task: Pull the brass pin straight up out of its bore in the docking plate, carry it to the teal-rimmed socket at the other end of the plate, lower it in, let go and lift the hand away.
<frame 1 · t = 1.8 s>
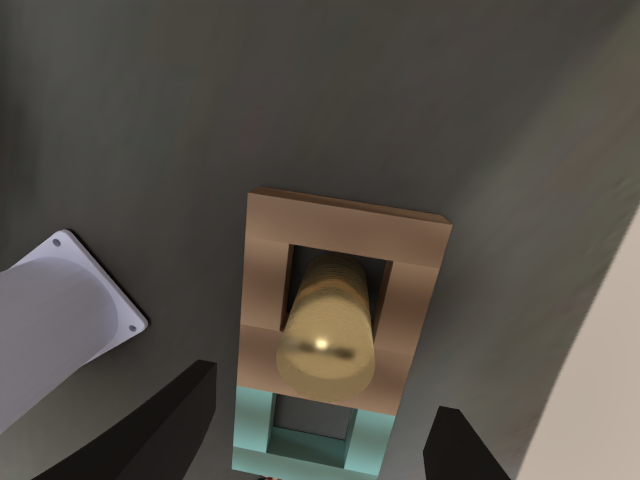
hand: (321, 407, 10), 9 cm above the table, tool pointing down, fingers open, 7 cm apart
docking plate: (323, 349, 20), on the table
brass pin: (334, 281, 18), resting in docking plate
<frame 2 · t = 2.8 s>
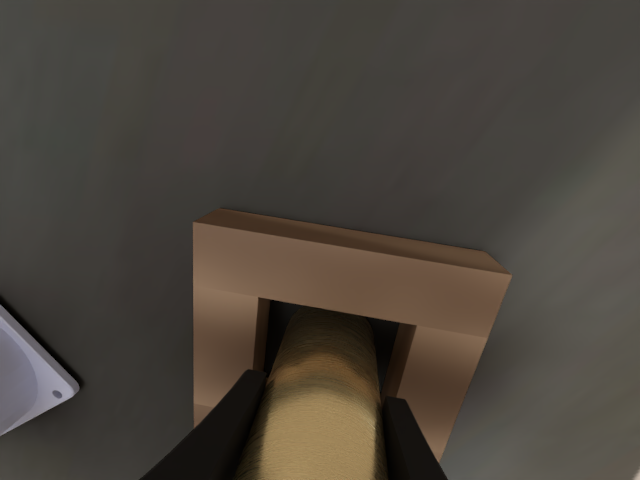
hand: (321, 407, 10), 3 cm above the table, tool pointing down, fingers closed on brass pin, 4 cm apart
docking plate: (314, 424, 15), on the table
brass pin: (329, 339, 13), resting in docking plate, touching gripper
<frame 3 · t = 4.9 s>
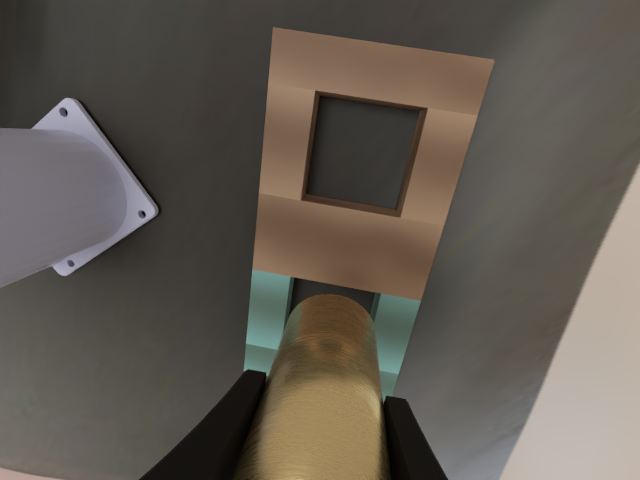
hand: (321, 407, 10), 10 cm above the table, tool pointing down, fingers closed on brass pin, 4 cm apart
docking plate: (343, 237, 19), on the table
brass pin: (330, 333, 13), point 7 cm above the table, touching gripper
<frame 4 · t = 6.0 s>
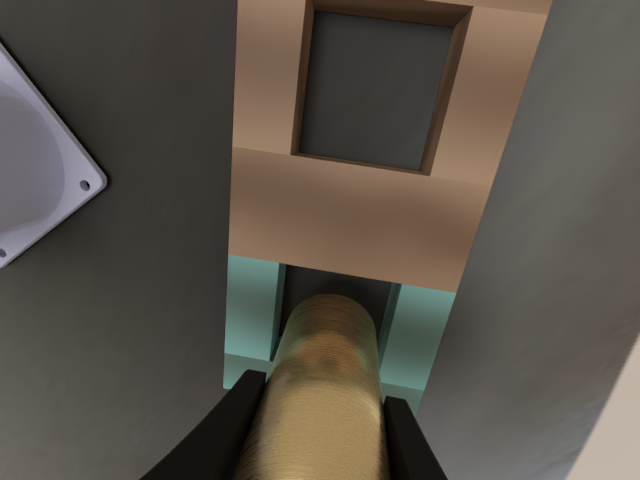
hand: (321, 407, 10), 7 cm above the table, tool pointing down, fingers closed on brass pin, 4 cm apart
docking plate: (349, 211, 14), on the table
brass pin: (330, 332, 13), point 3 cm above the table, touching gripper
when the fingers open (5 cm above the table, at t = 6.8 s): brass pin drops 1 cm, resting in docking plate.
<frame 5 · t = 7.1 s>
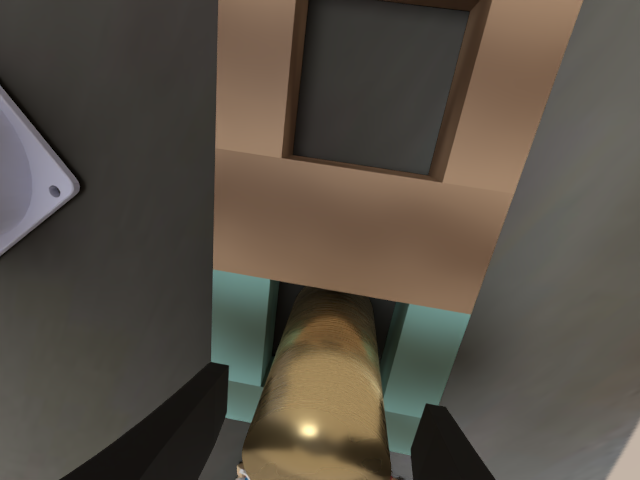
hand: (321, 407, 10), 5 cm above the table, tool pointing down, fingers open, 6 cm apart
docking plate: (349, 220, 13), on the table
brass pin: (332, 314, 14), resting in docking plate
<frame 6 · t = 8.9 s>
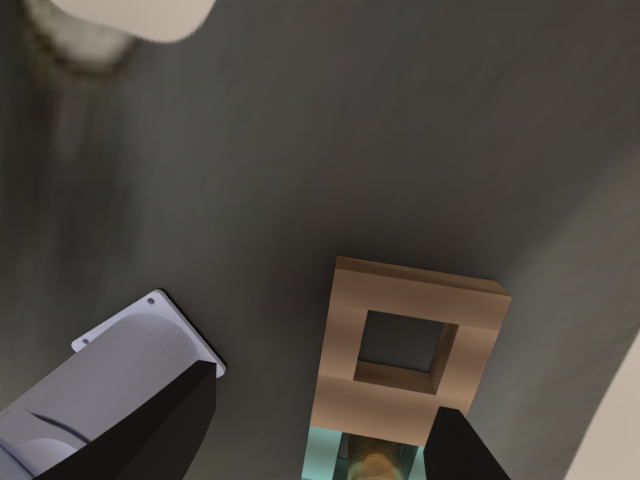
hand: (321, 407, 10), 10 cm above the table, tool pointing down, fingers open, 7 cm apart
docking plate: (383, 391, 22), on the table
brass pin: (371, 436, 24), resting in docking plate
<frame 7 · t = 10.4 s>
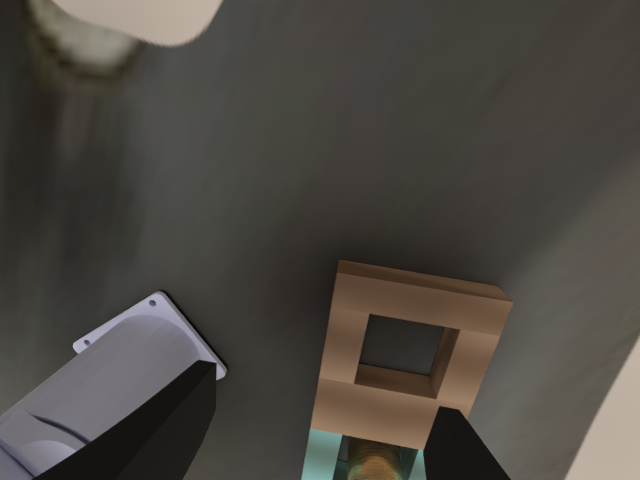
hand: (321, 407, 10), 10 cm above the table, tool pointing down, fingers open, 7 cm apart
docking plate: (384, 394, 22), on the table
brass pin: (371, 438, 24), resting in docking plate
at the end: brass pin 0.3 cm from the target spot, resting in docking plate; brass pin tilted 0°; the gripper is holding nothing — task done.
